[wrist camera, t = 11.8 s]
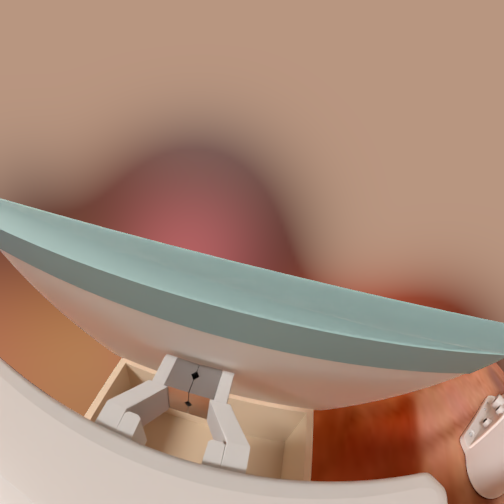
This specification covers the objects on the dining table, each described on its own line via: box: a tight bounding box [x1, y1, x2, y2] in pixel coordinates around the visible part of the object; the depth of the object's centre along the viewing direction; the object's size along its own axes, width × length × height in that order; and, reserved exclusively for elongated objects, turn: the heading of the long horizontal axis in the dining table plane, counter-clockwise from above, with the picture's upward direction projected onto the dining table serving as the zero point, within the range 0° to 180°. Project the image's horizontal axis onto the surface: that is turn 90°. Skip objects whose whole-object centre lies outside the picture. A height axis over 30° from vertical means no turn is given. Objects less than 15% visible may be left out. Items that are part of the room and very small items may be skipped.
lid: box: [0, 198, 504, 410], centre depth 13 cm, size 19×19×1 cm
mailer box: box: [84, 357, 314, 481], centre depth 16 cm, size 15×18×8 cm
